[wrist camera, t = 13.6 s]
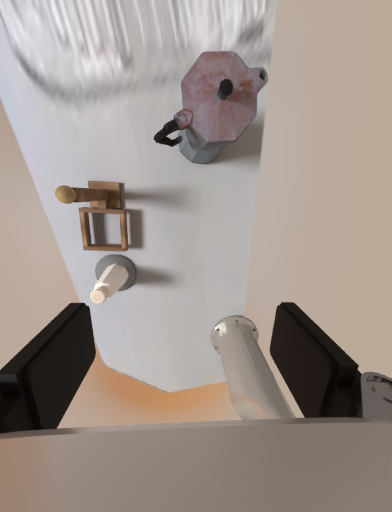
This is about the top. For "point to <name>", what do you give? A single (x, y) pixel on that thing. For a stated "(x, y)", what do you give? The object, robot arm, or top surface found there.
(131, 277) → the coaster
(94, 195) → the ring stand
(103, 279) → the pepper shaker
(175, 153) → the top surface
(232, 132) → the moka pot
